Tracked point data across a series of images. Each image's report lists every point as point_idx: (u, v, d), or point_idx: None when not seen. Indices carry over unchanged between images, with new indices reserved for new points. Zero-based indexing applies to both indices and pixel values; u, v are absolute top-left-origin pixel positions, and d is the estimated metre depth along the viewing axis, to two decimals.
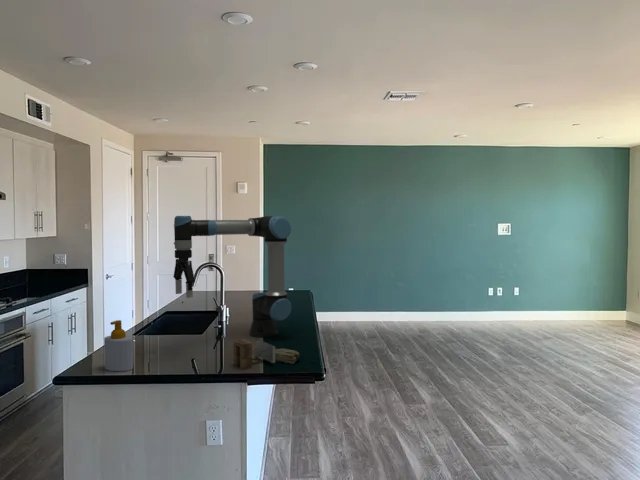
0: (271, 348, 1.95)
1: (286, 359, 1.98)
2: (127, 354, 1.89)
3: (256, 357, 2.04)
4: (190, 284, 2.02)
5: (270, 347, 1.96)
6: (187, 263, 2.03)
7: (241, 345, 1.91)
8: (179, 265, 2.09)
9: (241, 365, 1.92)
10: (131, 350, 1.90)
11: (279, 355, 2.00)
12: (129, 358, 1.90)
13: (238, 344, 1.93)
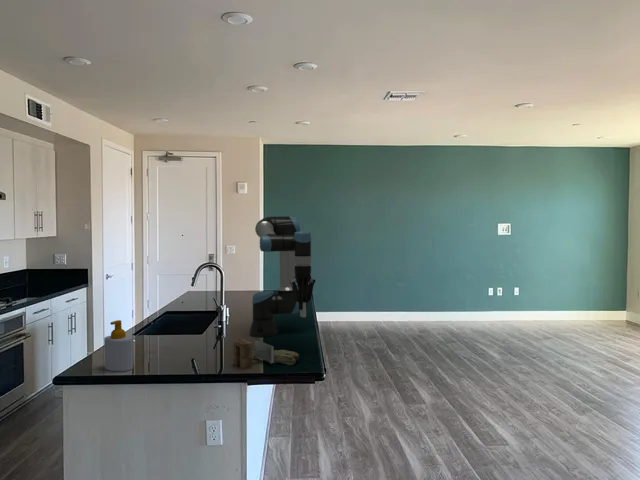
0: (270, 348, 1.94)
1: (285, 361, 1.96)
2: (127, 354, 1.89)
3: (255, 357, 2.04)
4: (299, 304, 2.07)
5: (268, 348, 1.95)
6: (291, 284, 2.05)
7: (241, 345, 1.91)
8: None
9: (241, 365, 1.92)
10: (131, 350, 1.90)
11: (279, 356, 1.98)
12: (129, 358, 1.90)
13: (238, 344, 1.93)
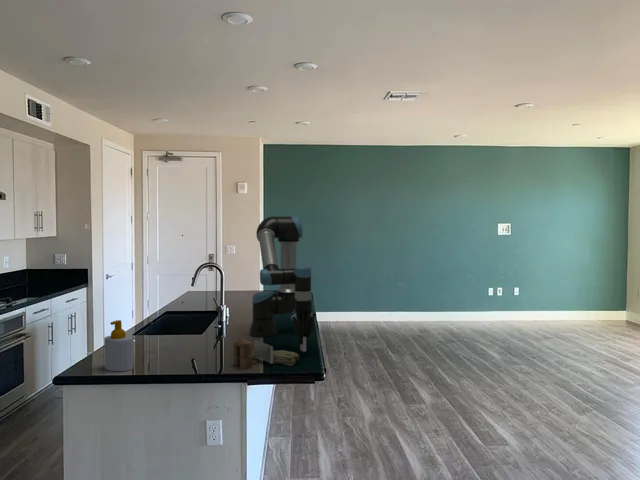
0: (269, 348, 1.94)
1: (285, 361, 1.96)
2: (127, 354, 1.89)
3: (254, 357, 2.04)
4: (299, 338, 2.08)
5: (268, 348, 1.95)
6: (291, 319, 2.06)
7: (241, 345, 1.91)
8: None
9: (241, 365, 1.92)
10: (131, 350, 1.90)
11: (279, 357, 1.97)
12: (129, 358, 1.90)
13: (238, 344, 1.93)
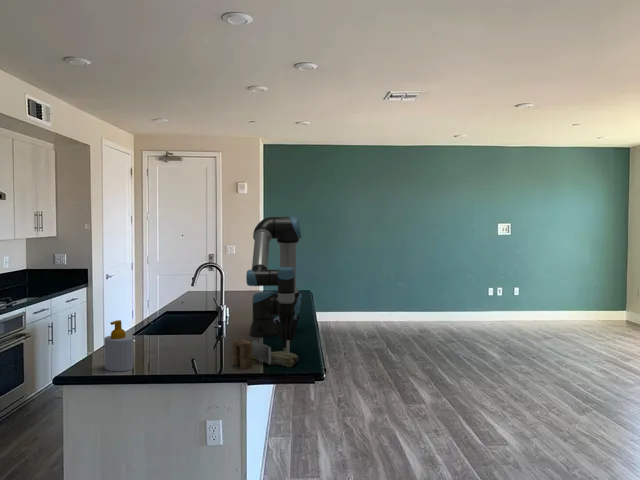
0: (267, 349, 1.94)
1: (284, 362, 1.94)
2: (127, 354, 1.89)
3: (252, 358, 2.03)
4: (282, 341, 2.02)
5: (266, 348, 1.94)
6: (274, 322, 2.00)
7: (241, 345, 1.91)
8: None
9: (241, 365, 1.92)
10: (131, 350, 1.90)
11: (277, 358, 1.95)
12: (129, 358, 1.90)
13: (238, 344, 1.93)
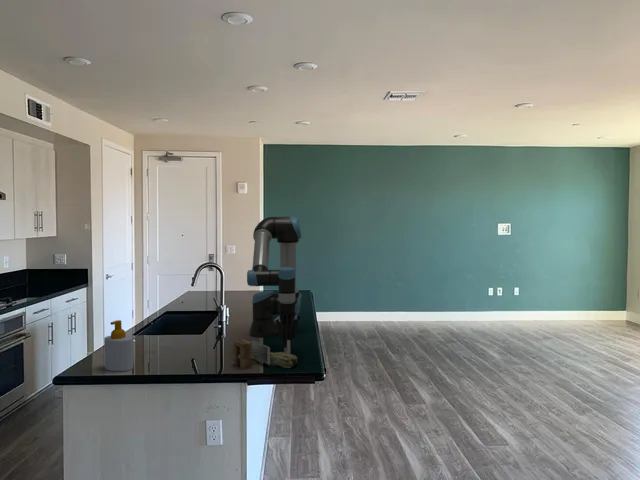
0: (266, 349, 1.93)
1: (283, 363, 1.93)
2: (127, 354, 1.89)
3: None
4: (283, 341, 2.03)
5: (265, 348, 1.94)
6: (274, 322, 2.01)
7: (241, 345, 1.91)
8: None
9: (241, 365, 1.92)
10: (131, 350, 1.90)
11: (276, 359, 1.94)
12: (129, 358, 1.90)
13: (238, 344, 1.93)
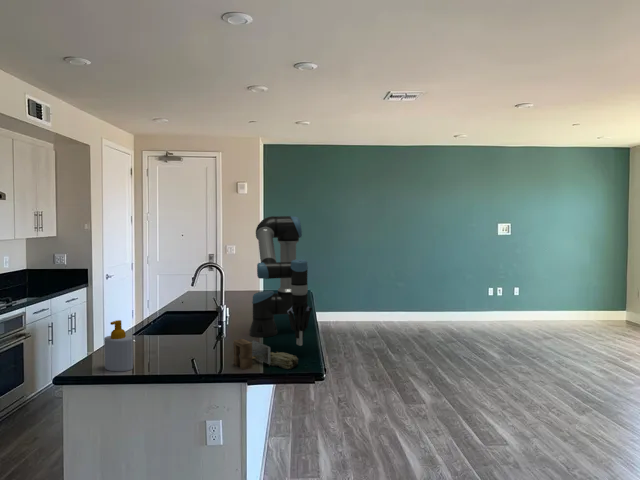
0: (266, 349, 1.94)
1: (283, 364, 1.92)
2: (127, 354, 1.89)
3: None
4: (295, 332, 2.07)
5: (265, 348, 1.94)
6: (287, 313, 2.05)
7: (241, 345, 1.91)
8: None
9: (241, 365, 1.92)
10: (131, 350, 1.90)
11: (277, 359, 1.94)
12: (129, 358, 1.90)
13: (238, 344, 1.93)
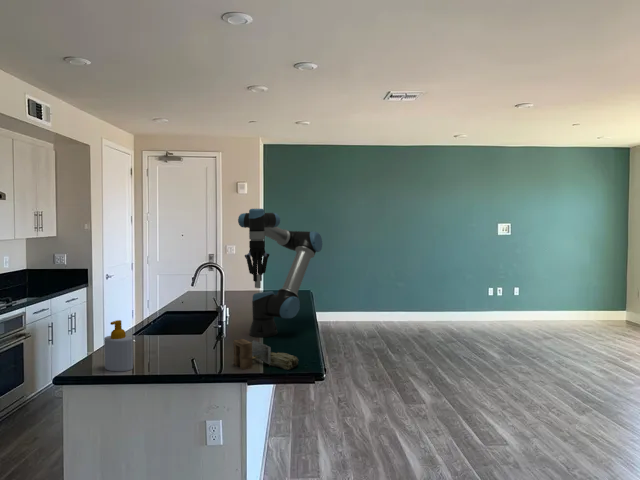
0: (267, 349, 1.94)
1: (282, 364, 1.91)
2: (127, 354, 1.89)
3: None
4: (253, 276, 2.23)
5: (265, 348, 1.94)
6: (245, 257, 2.20)
7: (241, 345, 1.91)
8: None
9: (241, 365, 1.92)
10: (131, 350, 1.90)
11: (277, 359, 1.93)
12: (129, 358, 1.90)
13: (238, 344, 1.93)
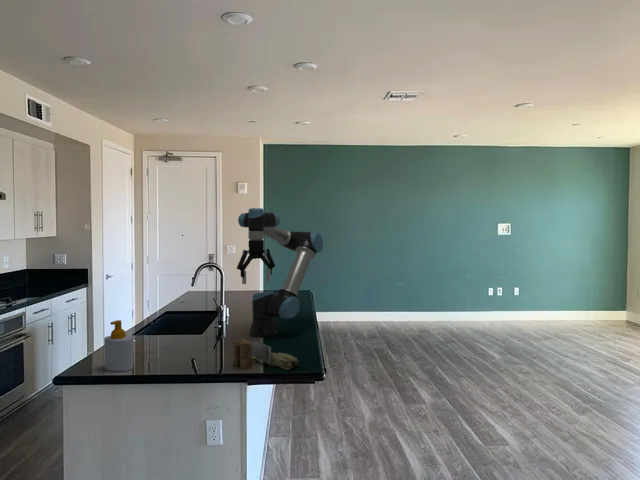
0: (267, 349, 1.94)
1: (282, 365, 1.91)
2: (127, 354, 1.89)
3: None
4: (241, 271, 2.19)
5: (266, 348, 1.94)
6: (243, 252, 2.20)
7: (241, 345, 1.91)
8: None
9: (241, 365, 1.92)
10: (131, 350, 1.90)
11: (277, 360, 1.93)
12: (129, 358, 1.90)
13: (238, 344, 1.93)
